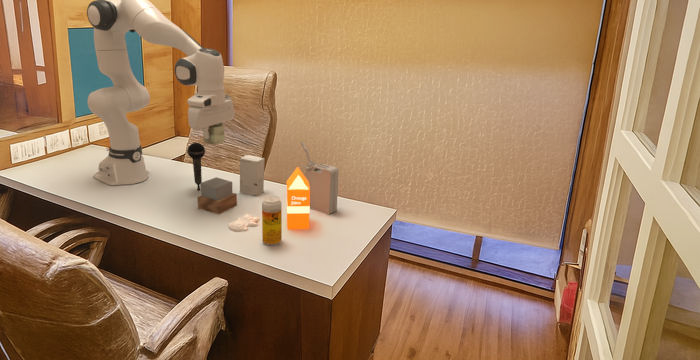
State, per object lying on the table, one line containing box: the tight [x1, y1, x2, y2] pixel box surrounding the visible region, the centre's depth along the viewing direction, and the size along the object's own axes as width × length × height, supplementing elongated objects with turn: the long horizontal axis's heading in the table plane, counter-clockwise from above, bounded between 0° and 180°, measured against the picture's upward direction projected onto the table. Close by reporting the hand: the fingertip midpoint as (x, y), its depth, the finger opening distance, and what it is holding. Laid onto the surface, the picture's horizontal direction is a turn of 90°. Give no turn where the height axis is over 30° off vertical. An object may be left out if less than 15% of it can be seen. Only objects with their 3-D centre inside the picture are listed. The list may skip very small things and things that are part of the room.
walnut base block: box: [196, 192, 238, 215], centre depth 177 cm, size 10×10×5 cm
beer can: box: [261, 195, 283, 247], centre depth 151 cm, size 6×6×15 cm
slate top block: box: [199, 177, 234, 201], centre depth 176 cm, size 8×8×5 cm
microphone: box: [186, 142, 206, 192], centre depth 189 cm, size 7×7×20 cm
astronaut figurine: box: [227, 213, 260, 233], centre depth 165 cm, size 9×12×3 cm
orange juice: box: [286, 166, 311, 230], centre depth 164 cm, size 8×9×20 cm
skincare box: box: [239, 154, 265, 197], centre depth 191 cm, size 8×6×15 cm
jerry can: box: [300, 141, 339, 215], centre depth 178 cm, size 15×5×25 cm, turn 54°
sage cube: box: [202, 124, 225, 146], centre depth 168 cm, size 5×5×6 cm
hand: (213, 136), depth 168 cm, fingers closed on sage cube, 5 cm apart
